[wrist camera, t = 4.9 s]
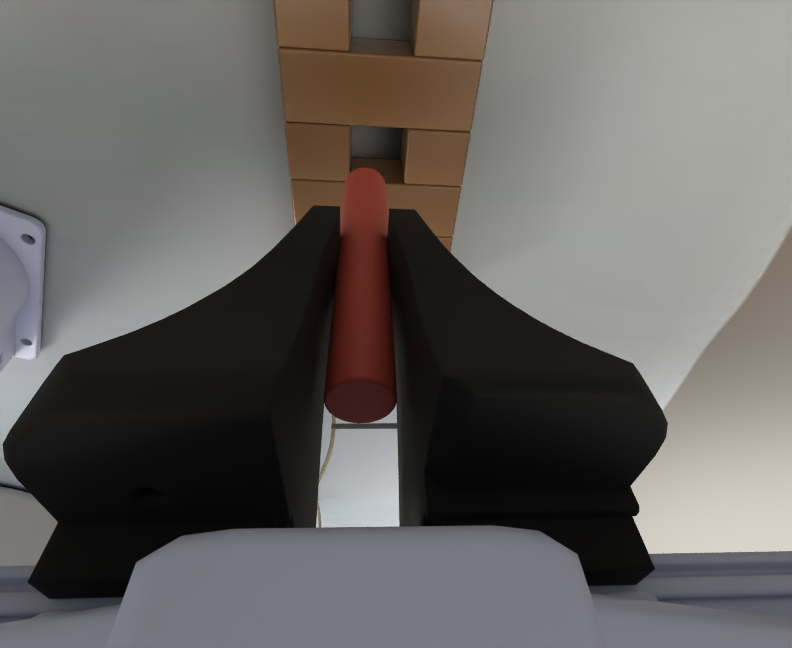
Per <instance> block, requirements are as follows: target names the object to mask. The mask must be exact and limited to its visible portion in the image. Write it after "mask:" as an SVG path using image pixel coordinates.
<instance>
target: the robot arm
mask: <svg viewBox="0 0 792 648" xmlns="http://www.w3.org/2000/svg"><path fill="white" fill-rule="evenodd" d="M27 234H28V235H30V236H32V237H33V238H34V239H35V240H34V239H32V238H30V237H29V236H28V235H27ZM340 238H341V232H340V206H318V205H314V206H312V207H311V208H310V209H309V210H308V211H307V213H306V214H305V215H304V216H303V217H302V218H301V220H300V221H299V222H298V223H297V224H296V225H295V226H294V227H293V229H292V230H291V231H290V232H289V233H288V234H287V235H286V236H285V237H284V238H283V239H282V240H281V241H280V242H279V243H278V244H277V245H276V246H275V247H274V248H273V249H272V250H271V251H270V252H269V253H267V254H266V255H265V256H264V257H263V258H262V259H261V260H260V261H258V262H257V263H256V264H255V265H254V266H253V267H251V268H250V269H249V270H247V271H246V272H245V273H243V274H242V275H240V276H239V277H237V278H236V279H235V280H233V281H232V282H230V283H229V284H227V285H226V286H224V287H222V288H221V289H219V290H217V291H216V292H214V293H212V294H210V295H208V296H207V297H205V298H203V299H201V300H200V301H198V302H196V303H194V304H192V305H191V306H189V307H187V308H185V309H183V310H181V311H179V312H177V313H175V314H172V315H170V316H168V317H166V318H164V319H162V320H159V321H157V322H155V323H152V324H150V325H148V326H145V327H143V328H141V329H138V330H136V331H133V332H130V333H128V334H125V335H122V336H120V337H117V338H114V339H111V340H108V341H105V342H102V343H99V344H97V345H94V346H91V347H88V348H85V349H82V350H79V351H76V352H73V353H70V354H67V355H64V356H63V357H62V358H61V360H60V361H59V362H58V363H57V365H56V366H55V367H54V369H53V370H52V371H51V373H50V374H49V376H48V377H47V378H46V380H45V381H44V382H43V384H42V385H41V387H40V388H39V390H38V391H37V392H36V394H35V395H34V397H33V398H32V400H31V401H30V403H29V404H28V405H27V407H26V408H25V410H24V411H23V413H22V414H21V415H20V417H19V418H18V420H17V421H16V423H15V424H14V426H13V427H12V428H11V430H10V432H9V433H8V435H7V437H6V439H5V441H4V443H3V451H4V459H5V461H6V463H7V465H8V467H9V468H10V470H11V471H12V472H13V474H14V475H15V477H16V478H17V480H18V481H19V482H20V483H21V484H22V485H23V486H24V487H25V488H26V489H27V490H28V491H29V492H30V493H31V494H32V495H33V497H34V498H35V499H36V500H37V501H38V502H39V503H40V504H41V505H42V506H43V507H44V508H45V509H46V510H47V511H48V512H49V513H50V514H51V515H52V516H53V517H54V519H55V520H56V521H57V522H58V524H57V525H56V527H55V529H54V531H53V533H52V535H51V537H50V539H49V541H48V543H47V545H46V547H45V549H44V551H43V553H42V555H41V556H40V558H39V560H38V562H37V564H36V565H29V566H0V648H792V551H786V552H785V551H782V552H781V551H780V552H734V553H733V552H732V553H731V552H727V553H674V554H648V551H647V549H646V547H645V544H644V542H643V540H642V538H641V536H640V533H639V531H638V529H637V526H636V524H635V522H634V519H633V517H632V516H636V515H637V514H638V513H639V504H638V502H637V500H636V498H635V496H634V494H633V492H632V489H631V487H630V486H631V485H632V483H633V482H634V481H635V480H636V478H637V477H638V476H639V475H640V474H641V472H642V471H643V470H644V469H645V467H646V466H647V465H648V464H649V463H650V461H651V460H652V459H653V458H654V457H655V455H656V453H657V452H658V450H659V449H660V447H661V445H662V443H663V442H664V440H665V438H666V433H667V425H668V423H667V421H666V418H665V416H664V414H663V411H662V409H661V408H660V406H659V404H658V403H657V401H656V399H655V398H654V396H653V394H652V392H651V391H650V389H649V387H648V386H647V384H646V382H645V381H644V379H643V378H642V376H641V374H640V373H639V371H638V370H637V368H636V367H635V366H634V364H633V363H630V362H628V361H626V360H623V359H621V358H618V357H616V356H613V355H611V354H608V353H606V352H603V351H601V350H599V349H596V348H594V347H591V346H589V345H586V344H584V343H582V342H579V341H577V340H575V339H573V338H571V337H569V336H567V335H565V334H563V333H561V332H559V331H557V330H555V329H553V328H551V327H549V326H547V325H546V324H544V323H542V322H540V321H538V320H537V319H535V318H533V317H531V316H530V315H528V314H527V313H525V312H523V311H522V310H520V309H519V308H517V307H515V306H514V305H512V304H511V303H509V302H508V301H506V300H505V299H503V298H502V297H500V296H499V295H498V294H496V293H495V292H494V291H493V290H491V289H490V288H489V287H487V286H486V285H485V284H484V283H482V282H481V281H480V280H479V279H477V278H476V277H475V276H474V275H473V274H472V273H470V272H469V271H468V270H467V269H466V268H465V267H464V266H463V265H462V264H461V263H460V262H459V261H458V260H457V259H456V258H455V257H454V256H453V255H452V254H451V253H450V252H449V251H448V249H447V248H446V247H445V246H444V245H443V244H442V243H441V242H440V240H439V239H438V238H437V237H436V235H435V234H434V233H433V232H432V230H431V229H430V228H429V227H428V225H427V224H426V223H425V221H424V220H423V219H422V217H421V216H420V215H419V214H418V212H417V211H416V210H415V209H391V208H389V218H388V234H387V242H388V261H389V269H390V278H391V294H392V312H393V331H394V349H395V367H396V386H397V432H398V470H399V520H400V527H334V528H316V517H317V501H318V484H319V468H320V453H321V438H322V424H323V411H324V389H325V379H326V369H327V359H328V349H329V339H330V329H331V319H332V309H333V299H334V288H335V278H336V271H337V265H338V259H339V248H340ZM45 241H46V229H45V226H44V225H43V223H42V222H40V221H39V220H38V219H36V218H34V217H31V216H29V215H26V214H23V213H20V212H17V211H15V210H12V209H9V208H6V207H4V206H1V205H0V372H1V370H2V369H3V368H4V367H5V366H6V364H7V363H8V362H9V361H10V359H11V358H12V357H13V356H15V357H19V358H23V359H27V360H34V359H36V358H37V357H38V355H39V354H40V347H41V326H42V304H43V283H44V262H45Z"/></svg>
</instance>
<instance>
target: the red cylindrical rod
mask: <svg viewBox="0 0 792 648" xmlns="http://www.w3.org/2000/svg"><path fill="white" fill-rule="evenodd" d="M340 232H341V238H340V248H339V259H338V265H337V271H336V278H335V288H334V299H333V309H332V319H331V329H330V339H329V349H328V359H327V369H326V379H325V389H324V403H325V406H326V408H327V410H328V411H329V412H330V413H331V414H332V415H334V416H335V417H337V418H339V419H341V420H343V421H347V422H352V423H369V422H374V421H377V420H380V419H382V418H384V417H386V416H387V415H389V414H390V413H391V412H392V410H393V409H394V407H395V405H396V403H397V386H396V367H395V349H394V331H393V312H392V294H391V278H390V269H389V261H388V242H387V234H388V221H387V203H386V185H385V181H384V179H383V177H382V176H381V174H380V173H379V172H377V171H376V170H374V169H371V168H367V167H363V168H358V169H355V170H354V171H352V172H351V173H350V174H349V175H348V177H347V178H346V181H345V187H344V198H343V208H342V218H341V228H340Z"/></svg>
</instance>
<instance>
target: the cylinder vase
mask: <svg viewBox="0 0 792 648" xmlns="http://www.w3.org/2000/svg"><path fill="white" fill-rule="evenodd" d="M57 524H58V522H57V521H56V520H55V519H54V517H53V516H52V515H51V514H50V513H49V512H48V511H47V510H46V509H45V508H44V507H43V506H42V505H41V504H40V503H39V502H38V501H37V500H36V499H35V498H34V497H33V495H32V494H31V493H27V492H23V491H20V490H15V489H11V488H6V487H0V566H29V565H36V564H37V562H38V560H39V558H40V556H41V555H42V553H43V551H44V549H45V547H46V545H47V543H48V541H49V539H50V537H51V535H52V533H53V531H54V529H55V527H56V525H57Z"/></svg>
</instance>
